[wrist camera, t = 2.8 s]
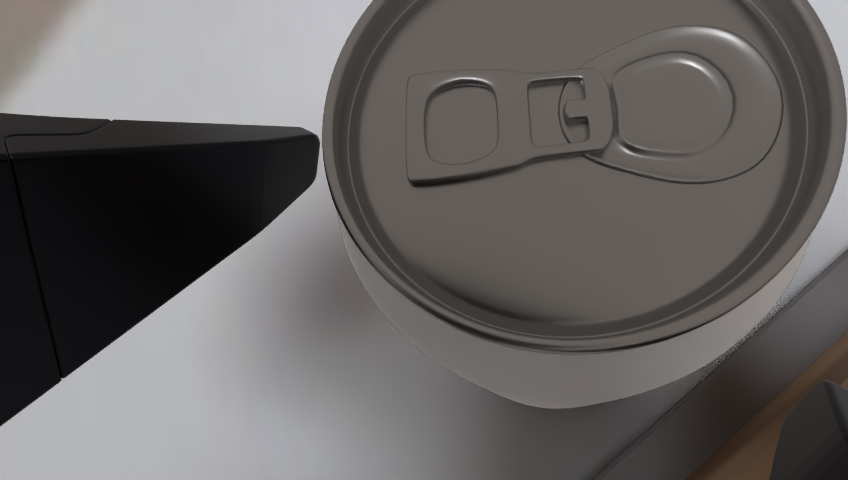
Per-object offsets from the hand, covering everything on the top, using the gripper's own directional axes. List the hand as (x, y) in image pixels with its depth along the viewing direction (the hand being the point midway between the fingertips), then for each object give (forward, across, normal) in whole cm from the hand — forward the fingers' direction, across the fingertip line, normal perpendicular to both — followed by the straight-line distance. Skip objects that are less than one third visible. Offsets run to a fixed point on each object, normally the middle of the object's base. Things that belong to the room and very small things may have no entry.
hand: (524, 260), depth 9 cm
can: (+7, 0, +5) cm, 9 cm away
